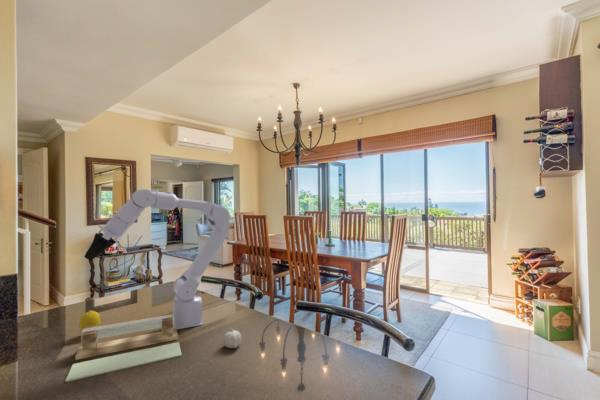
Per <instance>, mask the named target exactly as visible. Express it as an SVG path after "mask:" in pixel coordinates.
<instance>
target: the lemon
mask: <svg viewBox="0 0 600 400" xmlns="http://www.w3.org/2000/svg"><path fill="white" fill-rule="evenodd" d="M96 325H98V326H101V316H100V314H99V313H98V312H97V311H95V310H92V309H91V310H88V311H87V312H85V313H84V314H83V315H82V316H81V317H80V320H79V325H78V327H79V330H80V333H81V332H82V330H83V329H85V328H86V327H90V326H96Z"/></svg>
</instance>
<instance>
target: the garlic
mask: <svg viewBox="0 0 600 400" xmlns="http://www.w3.org/2000/svg"><path fill="white" fill-rule="evenodd" d="M241 342H242V334H241V333H240V332H239V331H238V330H236V329H233V327H229V328H228V331H227V332H225V334H224V335H223V337H222V343H223V344H224V346H225V347H226V348H228V349H236V348H237V347H238V346H239V345H240V344H241Z"/></svg>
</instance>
